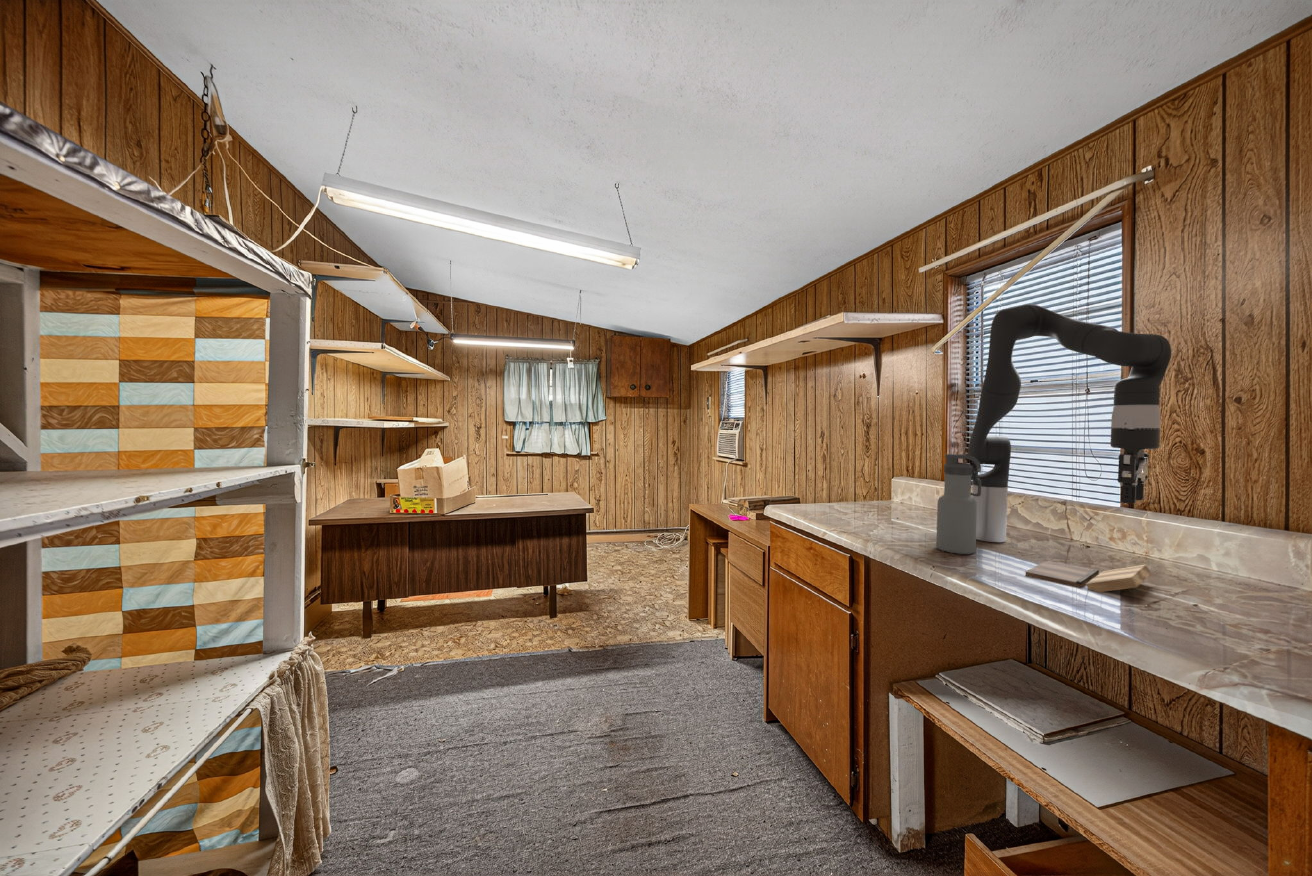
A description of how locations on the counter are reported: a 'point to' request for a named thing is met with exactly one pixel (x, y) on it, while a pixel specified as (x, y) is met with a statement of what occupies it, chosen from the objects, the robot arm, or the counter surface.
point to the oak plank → (1119, 578)
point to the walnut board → (1063, 573)
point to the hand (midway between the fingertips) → (1132, 501)
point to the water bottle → (958, 506)
